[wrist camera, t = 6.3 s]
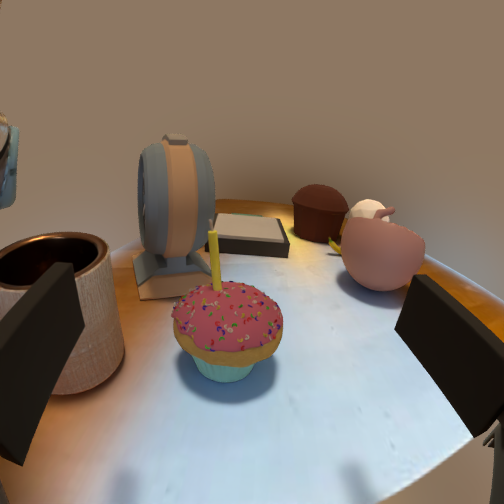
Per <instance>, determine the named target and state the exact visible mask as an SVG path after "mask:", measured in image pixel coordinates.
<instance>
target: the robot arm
mask: <svg viewBox="0 0 504 504" xmlns="http://www.w3.org/2000/svg"><path fill="white" fill-rule="evenodd" d="M1 3H2V0H0V9H1ZM18 142H19V129H18V128H17V127H13V126H9V127H8V122H7V119H6V117H5V115H4V114H3V113H2V112H1V111H0V209H4V208H7V207H10V206H11V205H12V204H13V203H14V201H15V198H16V174H17V173H16V171H17V156H18ZM84 328H85V323H84V319H83V314H82V310H81V306H80V301H79V296H78V291H77V286H76V280H75V275H74V269H73V263H62V262H55V263H54V264H53V265H52V266H51V267H50V268H49V269H48V270H47V271H46V272H45V273H44V274H43V275H42V276H41V277H40V278H39V279H38V280H37V281H36V282H35V283H34V284H33V285H32V286H31V287H30V288H29V289H28V290H27V292H26V293H25V294H24V295H23V296H22V297H21V298H20V299H19V300H18V301H17V302H16V303H15V305H14V306H13V307H12V308H11V309H10V310H9V311H8V312H7V314H6V315H5V316H4V317H3V318H2V319H1V321H0V455H1V457H2V458H5V459H7V460H9V461H11V462H13V463H15V464H18V465H20V466H22V467H23V464H24V461H25V458H26V455H27V453H28V450H29V447H30V444H31V442H32V439H33V436H34V434H35V431H36V429H37V426H38V424H39V421H40V419H41V416H42V414H43V412H44V409H45V407H46V405H47V403H48V400H49V398H50V396H51V394H52V391H53V389H54V387H55V385H56V383H57V381H58V379H59V376H60V374H61V372H62V370H63V368H64V366H65V364H66V362H67V360H68V358H69V356H70V354H71V352H72V350H73V349H74V347H75V345H76V343H77V341H78V339H79V337H80V335H81V334H82V332H83V330H84ZM394 330H395V331H396V332H397V333H398V335H399V336H400V337H401V338H402V340H403V341H404V342H405V344H406V345H407V346H408V347H409V349H410V350H411V351H412V353H413V354H414V355H415V356H416V358H417V359H418V360H419V362H420V363H421V364H422V366H423V367H424V368H425V370H426V371H427V372H428V374H429V375H430V376H431V378H432V379H433V380H434V382H435V383H436V384H437V386H438V387H439V388H440V390H441V391H442V393H443V394H444V395H445V397H446V398H447V400H448V401H449V402H450V404H451V405H452V407H453V408H454V409H455V411H456V412H457V414H458V415H459V417H460V418H461V420H462V421H463V422H464V424H465V425H466V427H467V428H468V430H469V431H470V433H471V434H472V436H473V437H474V438H475V437H477V436H479V435H481V434H482V433H484V432H486V431H487V430H488V429H489V428H490V427H491V425H492V424H493V423H494V422H495V420H496V419H497V420H499V422H500V423H499V424H498V425H497V426H496V427H495V429H494V430H493V431H492V432H491V433H490V435H488V437H487V438H486V439H485V440H484V442H483V446H485V445H486V444H487V443H488V442H489V441H490V440H491V439H492V438H494V439H493V440H492V441H491V443H489V445H488V447H492V448H494V468H493V479H492V489H491V497H490V504H504V343H503V342H502V341H501V340H500V339H499V338H498V337H497V336H496V335H495V334H494V333H493V332H492V331H491V330H490V329H488V328H487V327H486V326H485V325H484V324H483V323H482V322H481V321H480V320H479V319H478V318H477V317H475V316H474V315H473V314H472V313H471V312H470V311H469V310H468V309H466V308H465V307H464V306H463V305H462V304H461V303H460V302H458V301H457V300H456V299H455V298H454V297H453V296H451V295H450V294H449V293H448V292H447V291H446V290H444V289H443V288H442V287H441V286H439V285H438V284H437V283H436V282H435V281H433V280H432V279H431V278H430V277H428V276H427V275H413V277H412V280H411V283H410V287H409V290H408V293H407V296H406V299H405V301H404V304H403V307H402V310H401V313H400V315H399V318H398V321H397V323H396V326H395V328H394ZM0 504H9V501H8V499H7V496H6V494H5V491H4V488H3V486H2V483H1V480H0Z"/></svg>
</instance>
